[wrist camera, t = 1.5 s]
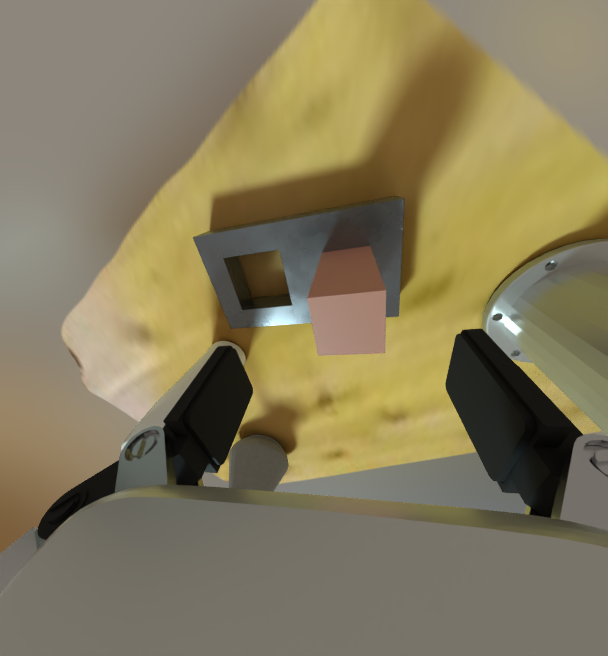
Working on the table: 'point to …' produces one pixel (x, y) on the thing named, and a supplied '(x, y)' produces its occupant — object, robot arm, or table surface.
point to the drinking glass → (177, 392)
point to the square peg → (348, 303)
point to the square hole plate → (302, 257)
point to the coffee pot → (257, 463)
